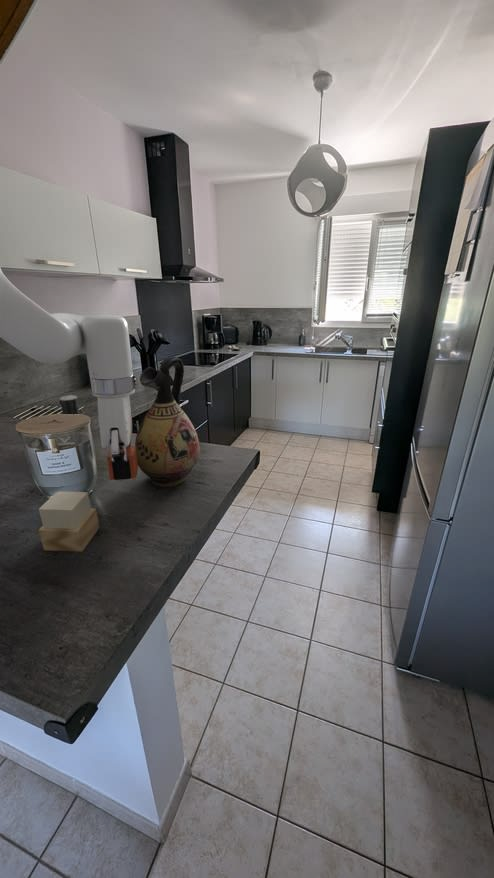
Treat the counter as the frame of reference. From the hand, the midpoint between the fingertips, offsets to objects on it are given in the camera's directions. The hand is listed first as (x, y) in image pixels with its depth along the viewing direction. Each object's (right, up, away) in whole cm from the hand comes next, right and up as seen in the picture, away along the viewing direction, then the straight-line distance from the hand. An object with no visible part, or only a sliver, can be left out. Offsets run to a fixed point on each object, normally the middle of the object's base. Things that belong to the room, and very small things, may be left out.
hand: (124, 471), depth 73 cm
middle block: (-8, -8, -7) cm, 13 cm away
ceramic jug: (+6, -3, +17) cm, 19 cm away
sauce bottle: (-18, -2, +21) cm, 28 cm away
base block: (-8, -12, -5) cm, 16 cm away
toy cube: (0, 0, 0) cm, 0 cm away
